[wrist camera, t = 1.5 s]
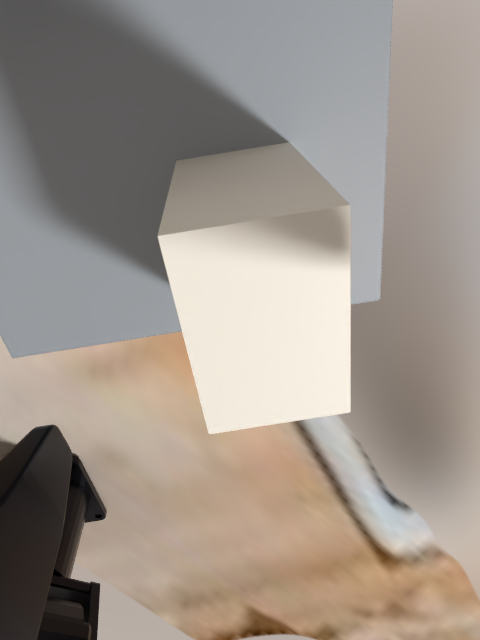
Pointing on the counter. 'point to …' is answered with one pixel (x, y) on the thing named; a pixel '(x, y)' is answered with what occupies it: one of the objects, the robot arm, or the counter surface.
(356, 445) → the counter surface
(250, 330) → the tea box
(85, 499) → the robot arm
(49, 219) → the shelf
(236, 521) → the counter surface
